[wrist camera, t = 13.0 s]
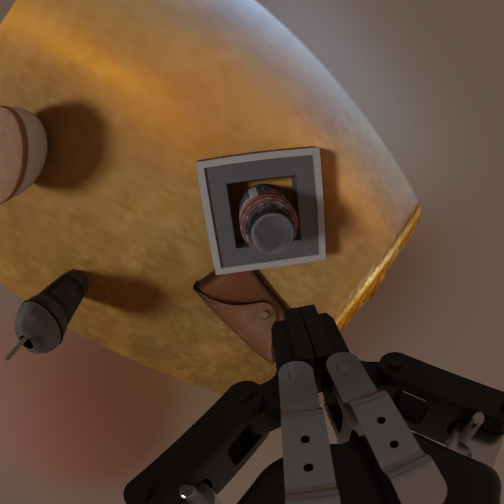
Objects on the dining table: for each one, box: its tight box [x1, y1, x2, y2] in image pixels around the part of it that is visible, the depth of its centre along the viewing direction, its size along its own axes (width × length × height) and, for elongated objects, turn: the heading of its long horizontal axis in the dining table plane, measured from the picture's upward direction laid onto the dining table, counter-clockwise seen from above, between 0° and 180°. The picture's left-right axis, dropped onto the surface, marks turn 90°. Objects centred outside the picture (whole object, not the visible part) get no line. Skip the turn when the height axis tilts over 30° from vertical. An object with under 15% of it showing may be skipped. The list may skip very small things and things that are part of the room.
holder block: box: [196, 146, 326, 275], centre depth 35 cm, size 14×14×3 cm
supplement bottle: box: [239, 184, 298, 254], centre depth 32 cm, size 6×6×11 cm
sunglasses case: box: [193, 270, 286, 365], centre depth 42 cm, size 18×7×7 cm
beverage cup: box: [5, 269, 88, 361], centre depth 30 cm, size 7×7×20 cm
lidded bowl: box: [0, 106, 48, 204], centre depth 26 cm, size 13×13×11 cm
